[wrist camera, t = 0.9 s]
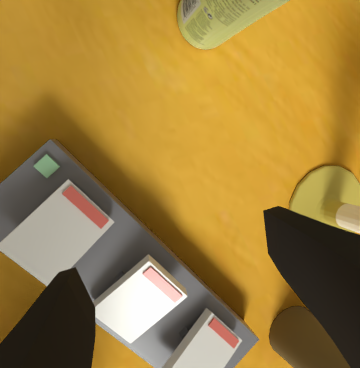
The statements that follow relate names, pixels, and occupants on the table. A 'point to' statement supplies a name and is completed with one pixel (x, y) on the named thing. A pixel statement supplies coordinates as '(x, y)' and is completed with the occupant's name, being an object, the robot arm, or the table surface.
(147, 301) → the rocker
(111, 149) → the table surface
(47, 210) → the rocker
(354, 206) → the candle
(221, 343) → the rocker
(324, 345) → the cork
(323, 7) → the table surface
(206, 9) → the tube
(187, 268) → the strip
